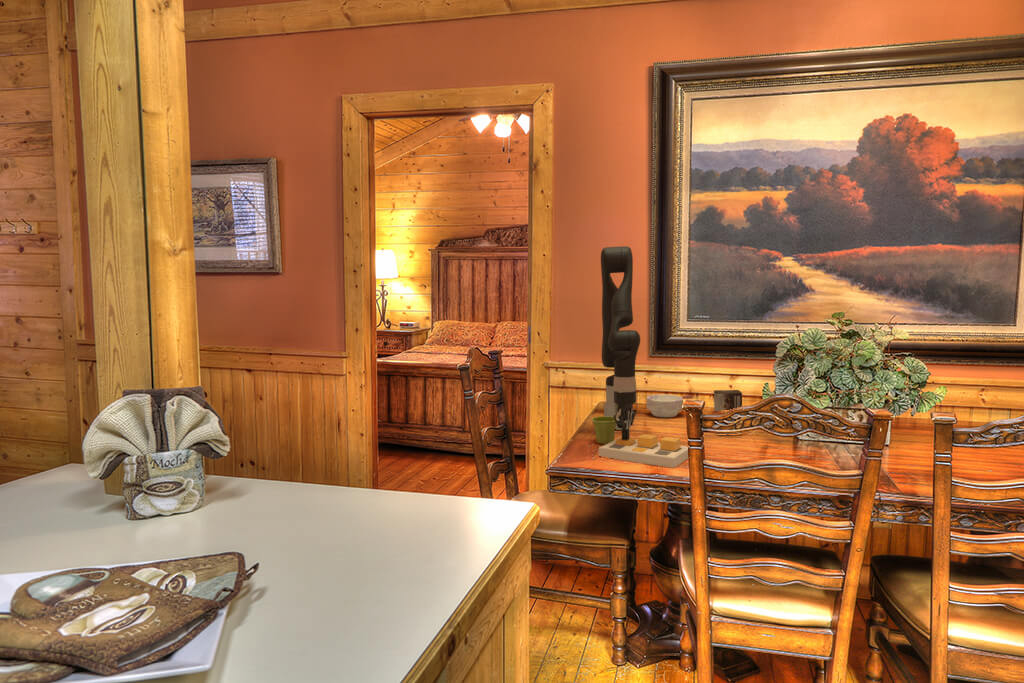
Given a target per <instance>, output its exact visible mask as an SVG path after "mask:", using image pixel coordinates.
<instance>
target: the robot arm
mask: <svg viewBox="0 0 1024 683" xmlns="http://www.w3.org/2000/svg"><path fill="white" fill-rule="evenodd" d="M633 262H634V259H633V252H632V249H631V247H630V246H623V245H622V246H609V247H608V246H607V247H603V248H602V250H601V253H600V271H601V283H602V285H601V286H602V287H601V288H602V290H601V291H602V294H601V295H602V297H601V299H602V300H601V320H602V343H601V363H602V365H603V367H604V368H608V369H610V368H613V374H612V375H609V376H607V377H606V379H605V398H606V399H605V403H604V404H603V405H604V408H603V410H604V412H603V413H604V414H603V415H604V416H608V417H614V419H615V422H616V427H615V429H616V430H615V431H621V437H622V440H628V439H629V438H630V429H631V426H633V425H634V421H635V418H636V414H637V410H636V409H634V407H633V406H634V404H636V403H637V379H636V360H637V356H638V351H639V348H640V344H641V336H640V333H639V332H638V331H637V330H633V329H624V330H621V329H622V328H626V327H629V326H630V325H632V324H633V323H634V313H633V301H632V296H633V295H632V294H633V273H634V271H633V269H634V266H633V265H634V264H633ZM622 273H623V278H622V281H621V283H620V285H619V286H618V287H617V285H616V284H615V282H614V280H613V278H612V275H611V274H622Z"/></svg>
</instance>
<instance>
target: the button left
mask: <svg viewBox="0 0 1024 683" xmlns="http://www.w3.org/2000/svg"><path fill="white" fill-rule="evenodd" d="M615 440H616V439H615ZM636 440H637V439H636V438H632V437H629V439H628V440H622V436H621V437H618V438H617V440H616V444H618V445H625V446H631V445H633V444H635V443H636Z"/></svg>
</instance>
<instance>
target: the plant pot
mask: <svg viewBox="0 0 1024 683" xmlns="http://www.w3.org/2000/svg"><path fill="white" fill-rule="evenodd" d="M591 421H592V424H593V427H594V432H595V439H596V443H597V442H598V443H597V444H601V443H603V444H602V445H606V444H608V443H610V442H612V441H614V440H615V432H616V430H615V427H616V422H615V419H614V417H608V416H594V417H592V418H591Z"/></svg>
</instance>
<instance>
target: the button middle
mask: <svg viewBox="0 0 1024 683" xmlns="http://www.w3.org/2000/svg"><path fill="white" fill-rule="evenodd" d="M658 439H659V438H658V435H655V434H647V433H643V434H641V435H638V436H637V439H636V440H637V444H638V446H642V447H649V448H652V447H654V446H656V445H658V443H659V440H658Z"/></svg>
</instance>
